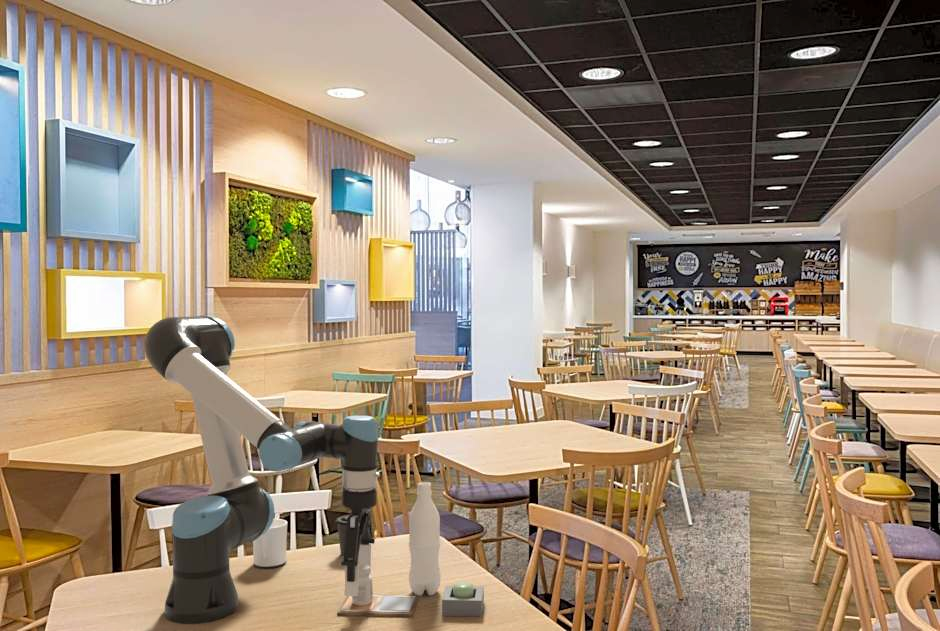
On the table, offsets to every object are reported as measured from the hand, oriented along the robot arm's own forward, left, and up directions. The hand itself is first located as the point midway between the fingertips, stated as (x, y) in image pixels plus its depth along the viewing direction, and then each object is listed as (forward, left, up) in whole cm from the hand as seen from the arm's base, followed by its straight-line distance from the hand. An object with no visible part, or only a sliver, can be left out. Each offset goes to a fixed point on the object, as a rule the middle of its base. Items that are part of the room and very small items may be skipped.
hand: (358, 584), depth 179 cm
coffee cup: (-9, +36, -5) cm, 37 cm away
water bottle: (+13, +9, -5) cm, 17 cm away
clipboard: (+5, 0, -5) cm, 7 cm away
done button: (+23, 0, -3) cm, 23 cm away
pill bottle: (+1, 0, -4) cm, 4 cm away
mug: (-28, +26, -5) cm, 39 cm away
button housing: (+23, 0, -5) cm, 24 cm away
